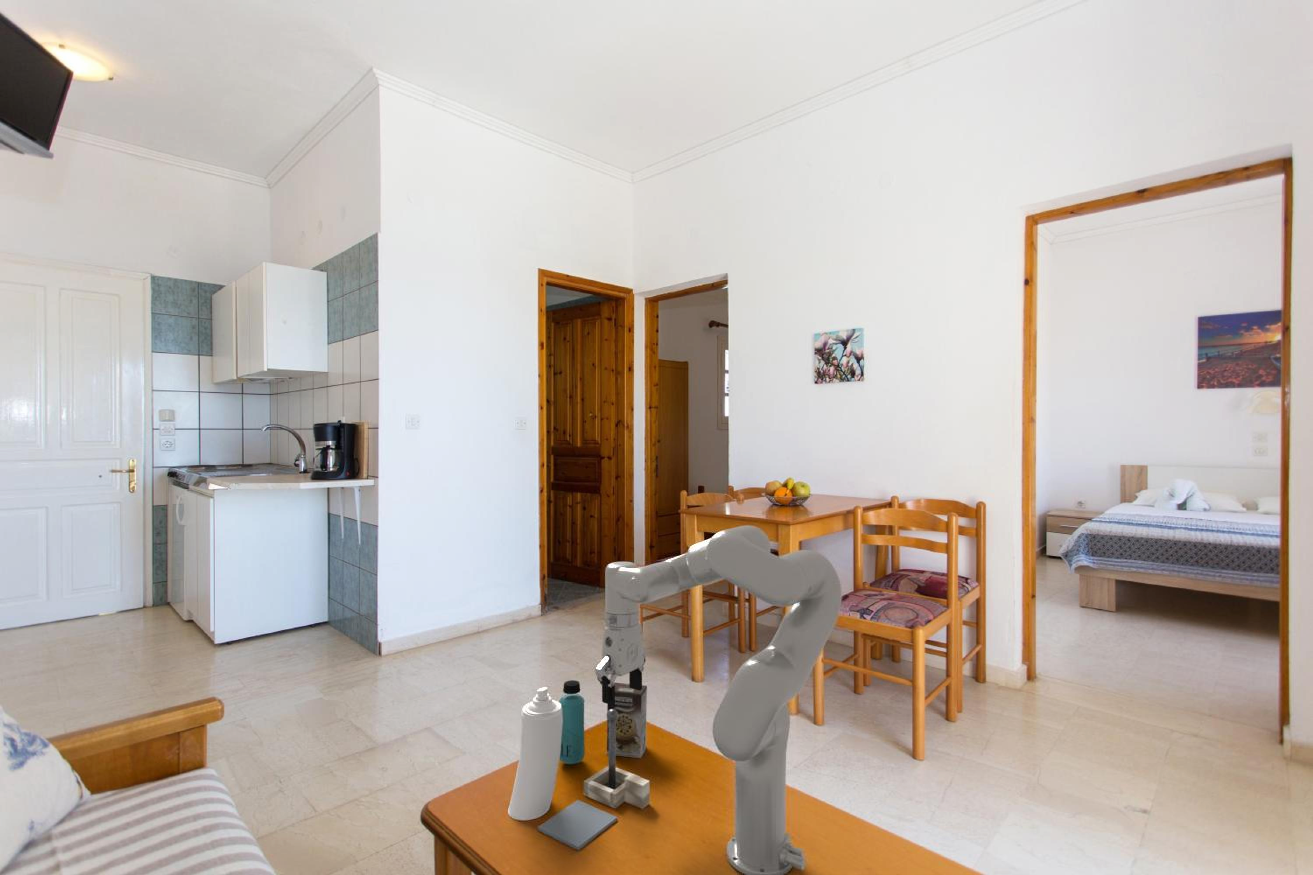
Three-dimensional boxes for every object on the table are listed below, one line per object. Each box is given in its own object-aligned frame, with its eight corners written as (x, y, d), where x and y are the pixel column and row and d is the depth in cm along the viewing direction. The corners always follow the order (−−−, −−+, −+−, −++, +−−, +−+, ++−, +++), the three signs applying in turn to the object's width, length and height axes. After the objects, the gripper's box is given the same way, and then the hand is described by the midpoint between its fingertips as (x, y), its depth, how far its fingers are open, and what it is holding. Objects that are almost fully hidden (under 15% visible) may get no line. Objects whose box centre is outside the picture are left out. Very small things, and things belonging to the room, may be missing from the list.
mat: (617, 819, 132) (617, 816, 132) (578, 850, 123) (578, 846, 123) (577, 802, 139) (577, 799, 139) (537, 829, 129) (537, 826, 129)
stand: (627, 790, 143) (627, 708, 143) (613, 800, 139) (613, 716, 139) (610, 783, 146) (610, 702, 146) (596, 793, 142) (596, 710, 142)
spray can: (521, 788, 144) (522, 678, 144) (567, 792, 143) (567, 680, 143) (501, 818, 133) (502, 698, 133) (550, 823, 131) (551, 701, 131)
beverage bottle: (587, 757, 158) (587, 677, 158) (581, 771, 152) (582, 687, 152) (561, 756, 159) (562, 676, 159) (555, 770, 152) (555, 686, 152)
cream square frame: (658, 796, 141) (658, 774, 141) (633, 816, 134) (633, 792, 134) (609, 777, 149) (609, 755, 149) (583, 794, 142) (583, 772, 142)
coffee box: (605, 754, 160) (606, 690, 160) (613, 743, 166) (613, 681, 166) (641, 759, 158) (641, 694, 158) (647, 746, 164) (647, 684, 164)
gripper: (610, 630, 132) (611, 713, 132) (658, 612, 146) (658, 687, 146) (583, 625, 136) (583, 705, 136) (632, 607, 150) (632, 680, 150)
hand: (622, 695), depth 141 cm, fingers open, 9 cm apart
